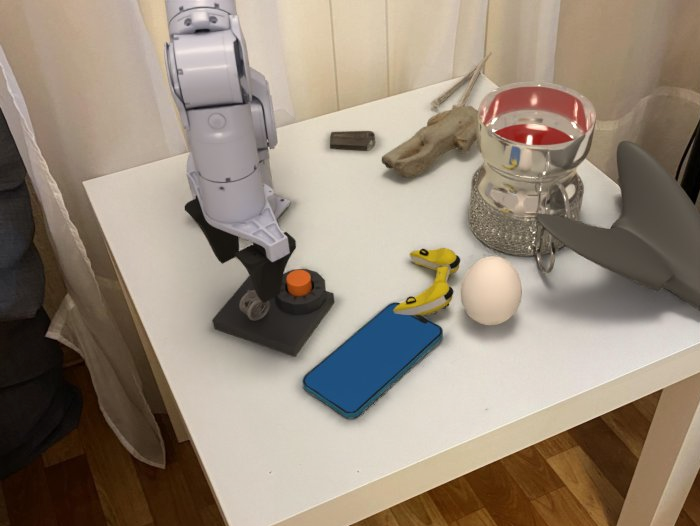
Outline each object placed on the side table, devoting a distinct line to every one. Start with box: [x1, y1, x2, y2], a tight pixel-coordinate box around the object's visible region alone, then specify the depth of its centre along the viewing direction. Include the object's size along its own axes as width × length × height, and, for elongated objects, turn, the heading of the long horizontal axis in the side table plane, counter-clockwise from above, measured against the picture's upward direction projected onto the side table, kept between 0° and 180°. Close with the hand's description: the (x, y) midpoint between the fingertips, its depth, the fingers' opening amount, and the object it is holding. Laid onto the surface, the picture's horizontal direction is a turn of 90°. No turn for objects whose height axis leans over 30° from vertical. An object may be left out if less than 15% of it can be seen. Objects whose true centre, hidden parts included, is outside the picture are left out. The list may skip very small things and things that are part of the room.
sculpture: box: [381, 105, 478, 178], centre depth 110 cm, size 7×5×15 cm
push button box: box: [211, 268, 335, 357], centre depth 92 cm, size 10×10×3 cm
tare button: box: [286, 269, 312, 296], centre depth 91 cm, size 3×3×2 cm
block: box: [329, 130, 376, 152], centre depth 113 cm, size 4×6×2 cm, turn 88°
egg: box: [460, 255, 523, 326], centre depth 89 cm, size 6×6×8 cm
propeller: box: [537, 140, 700, 311], centre depth 90 cm, size 23×25×9 cm
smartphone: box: [301, 301, 444, 419], centre depth 87 cm, size 7×1×15 cm
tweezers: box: [430, 51, 492, 110], centre depth 122 cm, size 17×5×2 cm, turn 154°
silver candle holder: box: [468, 80, 597, 275], centre depth 95 cm, size 13×18×15 cm
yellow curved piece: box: [393, 247, 461, 316], centre depth 94 cm, size 10×4×10 cm
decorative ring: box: [239, 290, 270, 321], centre depth 90 cm, size 3×2×3 cm
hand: (248, 277), depth 86 cm, fingers open, 7 cm apart
